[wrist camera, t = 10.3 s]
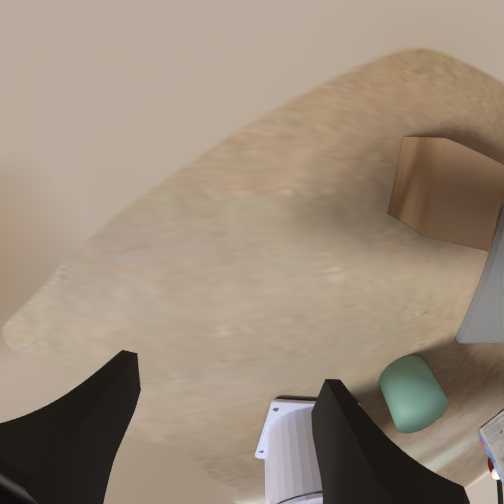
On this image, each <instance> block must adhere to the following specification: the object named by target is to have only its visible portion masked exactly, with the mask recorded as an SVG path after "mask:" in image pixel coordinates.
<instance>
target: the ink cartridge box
mask: <svg viewBox="0 0 504 504" xmlns="http://www.w3.org/2000/svg"><path fill="white" fill-rule="evenodd" d="M479 439H480V442H481V443H482V445H483V447H484V449H485V450H486V452H487V454H488V456H489V458H490V460H491V462H492V464H493V466H494V468H495V470H496V472H497V474H498V476H499V477H500V479H501V481H502V483H503V485H504V410H503V411H502V412H501V413H499V414H498V415H497V416H496V417H494V418H493V419H492V420H491V421H489V422H488V423H487V424H486V425H484V426H483V427H482V428H480V429H479Z"/></svg>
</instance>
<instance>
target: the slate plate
mask: <svg viewBox="0 0 504 504" xmlns="http://www.w3.org/2000/svg"><path fill="white" fill-rule="evenodd" d="M455 339H456V340H457V341H458V342H459V343H497V342H504V204H503V206H502V211H501V215H500V219H499V223H498V226H497V230H496V234H495V237H494V240H493V244H492V247H491V250H490V253H489V257H488V260H487V263H486V265H485V268H484V271H483V274H482V277H481V279H480V282H479V285H478V287H477V290H476V292H475V295H474V297H473V300H472V302H471V305H470V307H469V309H468V312H467V314H466V316H465V319H464V321H463V323H462V325H461V327H460V329H459V331H458V334H457V336H456V338H455Z"/></svg>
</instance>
